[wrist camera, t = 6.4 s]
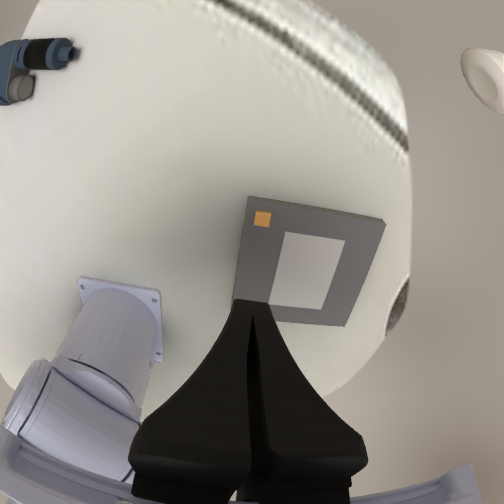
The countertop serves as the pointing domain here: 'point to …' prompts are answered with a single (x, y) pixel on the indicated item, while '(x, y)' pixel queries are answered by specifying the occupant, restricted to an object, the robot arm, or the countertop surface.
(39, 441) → the robot arm
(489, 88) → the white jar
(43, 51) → the vaping device
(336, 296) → the computer chip
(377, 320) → the countertop surface
